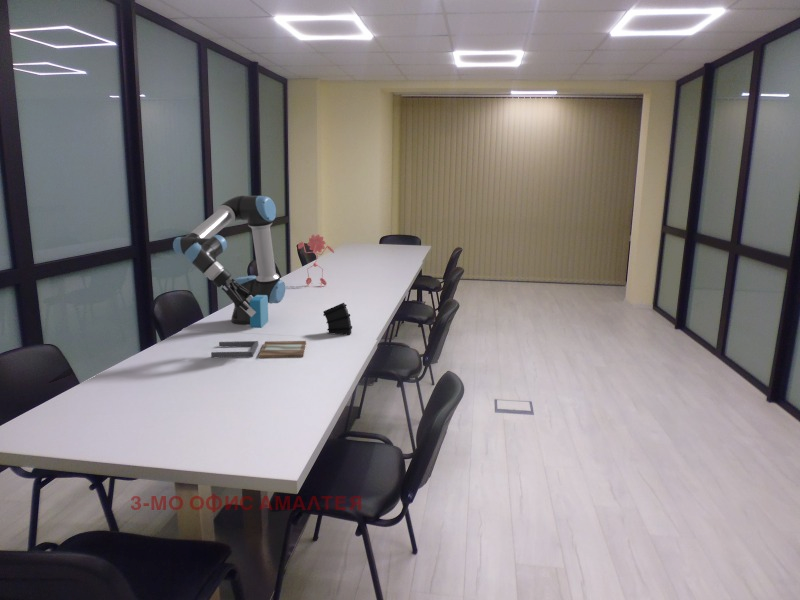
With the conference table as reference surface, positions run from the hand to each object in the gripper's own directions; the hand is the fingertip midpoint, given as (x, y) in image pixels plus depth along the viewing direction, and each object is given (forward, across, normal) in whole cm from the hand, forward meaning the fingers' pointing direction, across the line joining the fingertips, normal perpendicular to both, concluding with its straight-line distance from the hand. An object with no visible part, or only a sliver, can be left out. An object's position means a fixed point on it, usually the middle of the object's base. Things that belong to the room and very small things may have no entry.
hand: (256, 311), depth 239 cm
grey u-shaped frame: (+6, -1, -20) cm, 21 cm away
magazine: (+36, -29, +10) cm, 47 cm away
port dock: (+20, -2, -5) cm, 21 cm away
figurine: (+23, -152, -3) cm, 154 cm away
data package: (+5, 0, -4) cm, 6 cm away
